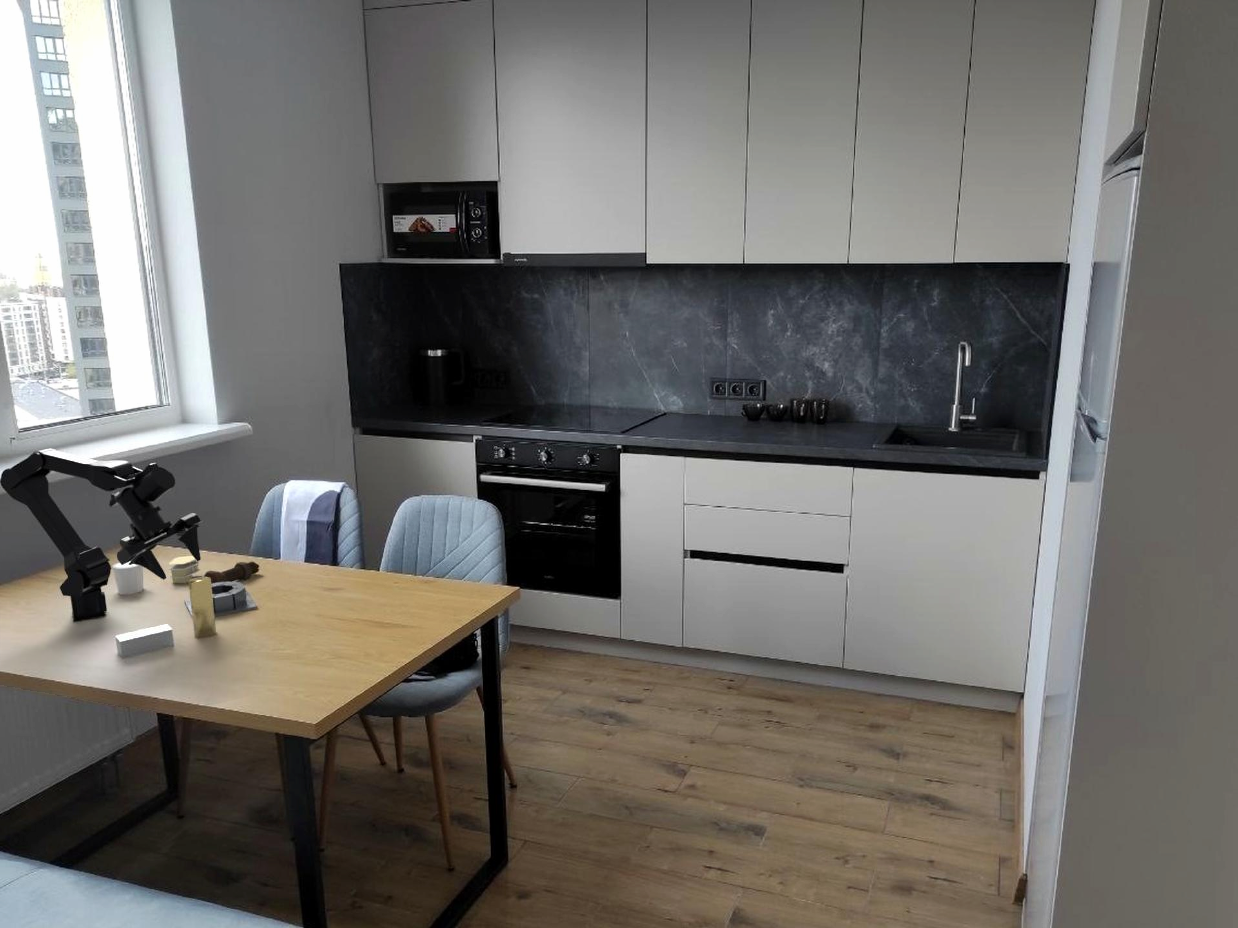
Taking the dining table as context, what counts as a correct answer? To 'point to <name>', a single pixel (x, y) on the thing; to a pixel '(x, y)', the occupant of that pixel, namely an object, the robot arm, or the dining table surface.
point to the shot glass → (128, 578)
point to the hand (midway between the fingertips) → (182, 569)
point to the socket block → (228, 599)
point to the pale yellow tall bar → (202, 607)
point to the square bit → (144, 641)
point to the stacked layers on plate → (183, 569)
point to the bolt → (234, 573)
